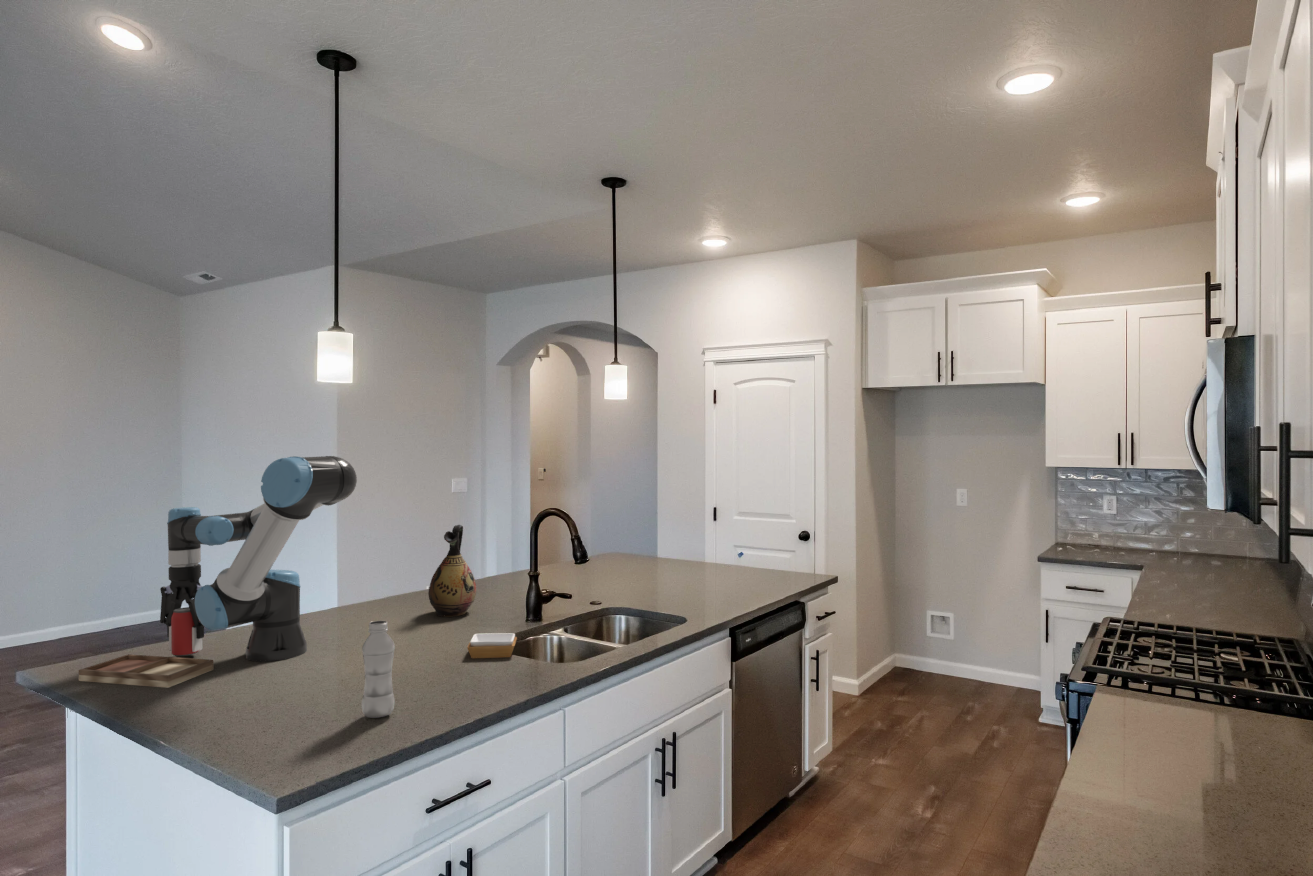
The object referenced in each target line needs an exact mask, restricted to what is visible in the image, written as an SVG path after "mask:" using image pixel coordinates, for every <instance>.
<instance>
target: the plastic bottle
mask: <svg viewBox="0 0 1313 876" xmlns="http://www.w3.org/2000/svg"><path fill="white" fill-rule="evenodd" d="M368 623H369V624H368V633H369V635H368V637H367V638H366V639H365V641H364V643H363V645H362V649H361V650H362V657H363V658H362V659H363V665H364V686H363V687H364V688H363V695H362V699H361V711H362V714H363V715H364V716H365V717H366V718H369V719H370V718H372V719H376V718H384V717H387V716H389V715H391V714H392V713H393V711H394V708H395V704H396V703H395V702H396V701H395V694H394V692H393V691H394V689H393V679H392V678H393V672H392V671H393V662H394V656H395V651H396V650H395V649H396V645H395V642H394V640H393V639H392V638H391V636H390V634H388V631H389V628H388V621H387V620H374V621H370V622H368Z"/></svg>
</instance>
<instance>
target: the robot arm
mask: <svg viewBox="0 0 1313 876" xmlns="http://www.w3.org/2000/svg"><path fill="white" fill-rule="evenodd" d="M356 473H357V472H356V470H355V468H354V467H353V465H352V464H351V463H350V462H348V461H347V460H346V459H344V458H342V457H339V456H334V455H333V456H332V455H325V456H324V455H323V456H305V457H303V456H302V457H301V456H294V455H293V456H287V457H281V458H278V459H276V460H274V461H272V462H271V463H269V465H268V466H267V467H266V468H265V470H264V472H263V474H262V476H261V481H260V482H261V483H262V485H260V492H261V496H262V501H263V503H262V504H261V505H259V506H257V507H255V508H252V509H251V510H249V511H246V512H245V511H244V512H237V513H228V514H227V513H226V514H225V513H224V514H217V515H202V514H201V509H200V508H199V507H197V506H196V507H195V506H187V507H183V506H182V507H174V508H171V509H169V511H168V514H167V516H168V518H167V522H166V523H167V524H166V525H167V544H168V545H167V546H168V558H167V559H168V561H167V562H168V563H167V564H168V565H169V567H168V580H169V581H170V584H169V585H165V586H161V587H160V589H159V590H160V594H161V600H160V601H161V602H160V613H159V614H160V616H159V617H160V618H159V622H160V624H165V626H166V628H167V629H166V632H167V638H168V650H169V652H170V651H171V652H172V640H171V618H172V615H173V611H174V610H175V609H179V608H182V607H183V606H182V604H183V602H184V601H185V603H186V604H187V605H188V607H189V609H190V612H191V615H192V618H193V622H194V625H195V626H193V627H192V652H196V651H199V650H200V651H202V650H203V638H204V637H205V629H207V630H209V631H218V630H226V629H230V628H233V627H236V626H237V627H238V626H242V625H245V624H250V623H252V630H251V633H250V636H249V639H248V642H247V645H246V648H245V659H246V660H248V661H251V662H274V661H275V662H276V661H282V660H289V659H292V658H297V657H300V656H302V655H304V654H306V653H307V651H308V642H307V640H306V637H305V635H304V632H303V628H302V626H301V615H300V614H301V602H300V601H301V599H300V598H301V584H300V575H299V573H298V572H297V571H294V570H289V569H272V567H273V566H274V564H275V562H276V560H277V559H278V557H279V556H280V554H281V552H282V550H283V548H284V547H285V545H286V544H287V542H288V540H289V539H290V537H291V536H292V533H293V532H294V530H295V528H296V527H297V526H298V523H299V522H300V521H303V520H306V519H307V518H309V517H310V516H311V514H312V513H313V511H314V510H316V509H319V508H320V507H322V506H332V505H335V504H337V503H340V502H341V501H343V500H345V499H347V498H348V497H350V496H351V495H352V494H353V492H354V490H355V489H356V487H357V481H358V479H357V474H356ZM237 541H244V542H243V544H242V546H241V547H240V549H239V550H238V552H237V554H236V556H235V558H234V559H233V561H232V563H231V564H230V567H227V568H224V569H222V570H221V571H219V573H218V574H217V576H216V578H215V580H214V582H213V583H212V584H205V585H203V586H202V585H201V582H200V579H201V577H202V565H201V564H200V563H201V561H202V559H201V556H202V555H201V553H202V552H201V551H202V550H201V549H202V548H201V546H202V545H206V546H210V547H211V546H212V547H213V546H221V545H224V544H226V543H231V542H237ZM199 621H200V622H199ZM200 651H199V652H200Z"/></svg>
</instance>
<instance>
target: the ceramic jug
mask: <svg viewBox="0 0 1313 876" xmlns="http://www.w3.org/2000/svg"><path fill="white" fill-rule="evenodd" d="M444 533H445V534H444V535H443V539H444V541H445V542H447V543H448V544H449V550H448V551H447V554H446V556H445V557H444V558H443V560H442V561H441V563H440V564H439V565H438V567H437V568H436V569H435V571H434V573H433V575H432V577H431V579H430V584H429V587H428V592H427V594H428V600H429V604H430V605H431V607H432V608H433V609H434V611H435V612H436V615H437V616H438V617H444V618H445V617H446V618H447V617H449V618H451V617H459V616H463V615H465V614H466V613H467V611H468V610H469V609H470V607H471V606H472V605H473V603H474V602H475V600H476V599H475V598H476V596H477V583H476V579H475V577H474V573H473V572H472V569H470V566H469V565H468V563H467V562H466V560H465V558H464V557H463V556H462V554H461V547H462V541H463V540H462V539H463V535H464V534H463V533H464V526H463V525H461V524H457V525H454V526H453V527H452V531H450V530H449V531H446V532H444Z"/></svg>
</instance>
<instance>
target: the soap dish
mask: <svg viewBox="0 0 1313 876" xmlns="http://www.w3.org/2000/svg"><path fill="white" fill-rule="evenodd" d="M471 637H472V638H471V639H470V641H469V643H468V644H467V647H466V648H467V650H468V653H469V656H470V658H471V659H492V658H493V659H494V658H495V659H496V658H511V656H512V655H513V651H514V650H515V646H516V643H517V640H518V637H517V636H516V633H513V632H510V633H509V632H492V633H491V632H490V633H489V632H487V633H474V634H473V635H472V636H471Z"/></svg>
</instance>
